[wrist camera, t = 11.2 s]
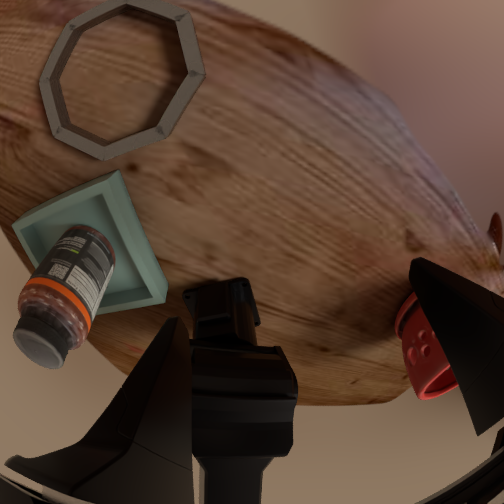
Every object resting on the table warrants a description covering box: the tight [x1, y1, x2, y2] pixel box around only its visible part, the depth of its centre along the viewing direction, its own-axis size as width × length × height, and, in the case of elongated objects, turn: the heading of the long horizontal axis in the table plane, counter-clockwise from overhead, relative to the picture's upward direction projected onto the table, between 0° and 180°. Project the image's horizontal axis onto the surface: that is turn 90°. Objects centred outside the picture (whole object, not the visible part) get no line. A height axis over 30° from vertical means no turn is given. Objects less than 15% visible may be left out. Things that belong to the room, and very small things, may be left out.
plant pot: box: [395, 292, 458, 400], centre depth 26 cm, size 13×13×12 cm
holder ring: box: [39, 0, 206, 161], centre depth 14 cm, size 12×12×2 cm
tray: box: [12, 169, 169, 315], centre depth 21 cm, size 12×12×2 cm
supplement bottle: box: [13, 226, 116, 369], centre depth 17 cm, size 6×6×11 cm
